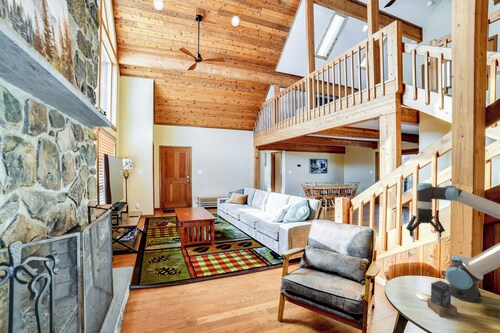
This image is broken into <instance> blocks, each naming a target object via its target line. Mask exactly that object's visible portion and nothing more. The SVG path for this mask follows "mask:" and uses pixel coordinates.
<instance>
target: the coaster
mask: <svg viewBox="0 0 500 333" xmlns="http://www.w3.org/2000/svg"><path fill="white" fill-rule="evenodd" d="M415 296H416V298H418V299H419V300H421V301H422V302H426V303H427V298H431V294H428V293H424V292H417V293H416V294H415Z"/></svg>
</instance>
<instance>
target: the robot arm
mask: <svg viewBox="0 0 500 333" xmlns="http://www.w3.org/2000/svg"><path fill="white" fill-rule="evenodd" d="M416 186H417V188H416V192H417V193H416V196H417V198H416V199H417V200H416V201H417V202H416V203H417V215H414V214H412V215H411V219H410V221H409V222H408V224H407V226H406V227H405V228H406V230H407V231H409V236H410V237H411V242H412V243H415V242H416V241H415V239H416V238H415V237H416V236H415V235H416V234H415V229H417V228H418V227H419V225H421V224H430V225H431V226H432V227H433V228H434V229H435V230H436V231H435V242H436V243H437V244H441V243H440V242H441V238H442V233H444V232H446V230H445V228H444V226H443V225H442V223H441V221H440V219H439V216H438V215H433V200H440V201H449V202H450V201H455V202H457V203H460V204H462V205H465V206H467V207H469V208H471V209H475V210H477V211H479V212H480V213H481V212H482V213H484V214H486V215H488V216H492V217H493V218H496V219H499V220H500V204H499V203H498V202H495V201H493V200H490V199H487V198H484V197H482V196H479V195H476V194H473V193H470V192H468V191H466V190H463V189H460V188H458V187H456V186H455V185H445V186H433V184H432V183H431V182H430V183H429V182H428V183H427V182H419V183H417V185H416ZM433 220H434V221H435V222H436V224H435V222H433ZM450 259H451V264H450V265H449V267H448V268H447V269H445V274H444V275H445V279H446V281H447V283H448V284H450V285H451V297H453V298H456V299H458V300H461V301H464V302H469V303H481V302H482V300H483V297H482V293H481V291H480V289H479V287H478V282H480V281H482V280H483V279H484V275H486V274H488V273H490V272H493V271H494V270H496V269H498V268H500V242H498V243H496V244H495V245H492V246H491V247H489V248H487V249H486V250H484V251H482V252H479V254H477V255H474V256H473V257H472V258H470V257H466V256H462V255H461V256H460V255H452V256H451V258H450Z"/></svg>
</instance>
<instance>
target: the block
mask: <svg viewBox="0 0 500 333" xmlns="http://www.w3.org/2000/svg"><path fill="white" fill-rule="evenodd" d="M426 303H427V308H429V309H430V310H431V311H432V310H433V311H432V312H433V313H435V314H436V315H437V314H438V315H439V316H438V315H437V316H438V317H454V318H455V317H458V308H457V306H455V305H454V304H452V303H451V304H449V305H446V306H443V307H441V306H439V305H437V304H435V303H433V302H431V298H427V302H426Z"/></svg>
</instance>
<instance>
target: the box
mask: <svg viewBox="0 0 500 333" xmlns="http://www.w3.org/2000/svg"><path fill="white" fill-rule="evenodd" d="M430 284H431V285H430V286H431V287H430V295H431V302H433V303H435V304H437V305H439V306H441V307H443V306H446V305H449V304H452V295H451V285H450V283H448V282H444V281H443V280H438V281H434V282H431V283H430Z"/></svg>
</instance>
